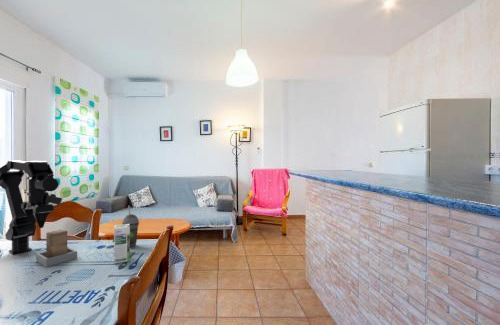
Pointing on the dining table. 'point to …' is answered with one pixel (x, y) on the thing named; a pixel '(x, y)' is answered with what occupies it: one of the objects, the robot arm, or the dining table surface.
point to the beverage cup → (132, 227)
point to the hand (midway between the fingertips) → (37, 226)
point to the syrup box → (121, 243)
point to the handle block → (56, 243)
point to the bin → (56, 257)
